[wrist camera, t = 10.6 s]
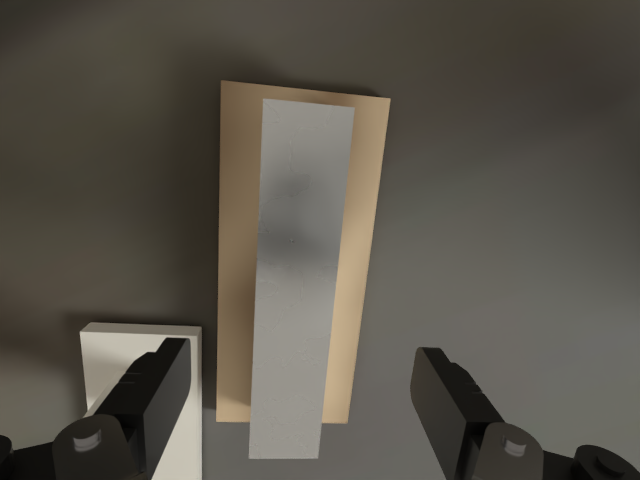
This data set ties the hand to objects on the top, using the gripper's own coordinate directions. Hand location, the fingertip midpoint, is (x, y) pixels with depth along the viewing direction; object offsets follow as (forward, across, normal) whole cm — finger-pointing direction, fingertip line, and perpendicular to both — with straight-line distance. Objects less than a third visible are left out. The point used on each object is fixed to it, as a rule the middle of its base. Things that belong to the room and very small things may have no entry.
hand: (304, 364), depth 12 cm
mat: (+8, 0, 0) cm, 8 cm away
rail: (+7, 0, 0) cm, 7 cm away
